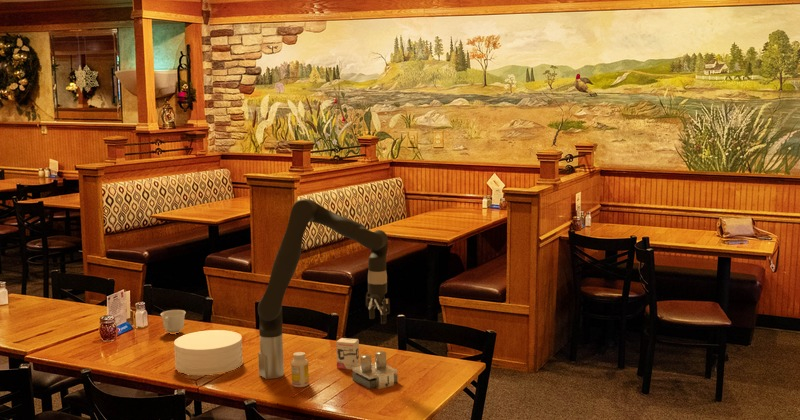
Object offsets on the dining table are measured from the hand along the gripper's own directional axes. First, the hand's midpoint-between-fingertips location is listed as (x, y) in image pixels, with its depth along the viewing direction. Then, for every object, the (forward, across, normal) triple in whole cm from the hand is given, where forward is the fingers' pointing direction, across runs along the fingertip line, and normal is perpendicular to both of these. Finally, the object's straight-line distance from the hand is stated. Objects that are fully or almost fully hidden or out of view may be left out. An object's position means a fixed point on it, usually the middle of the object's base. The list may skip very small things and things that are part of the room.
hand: (377, 321), depth 334 cm
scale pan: (+21, +1, -2) cm, 21 cm away
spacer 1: (+19, +1, -6) cm, 20 cm away
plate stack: (+25, -58, -48) cm, 80 cm away
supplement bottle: (+25, -13, -28) cm, 40 cm away
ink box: (+24, -20, -2) cm, 32 cm away
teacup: (+25, -113, -46) cm, 124 cm away
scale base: (+24, +2, -2) cm, 24 cm away
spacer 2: (+19, +1, +1) cm, 19 cm away
